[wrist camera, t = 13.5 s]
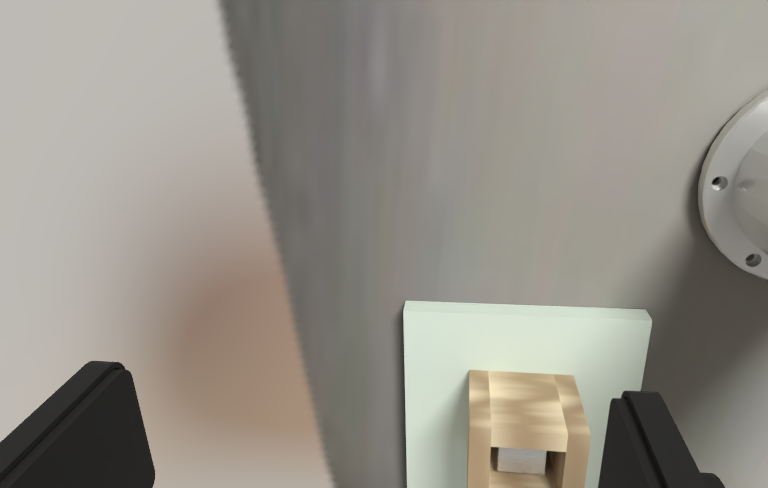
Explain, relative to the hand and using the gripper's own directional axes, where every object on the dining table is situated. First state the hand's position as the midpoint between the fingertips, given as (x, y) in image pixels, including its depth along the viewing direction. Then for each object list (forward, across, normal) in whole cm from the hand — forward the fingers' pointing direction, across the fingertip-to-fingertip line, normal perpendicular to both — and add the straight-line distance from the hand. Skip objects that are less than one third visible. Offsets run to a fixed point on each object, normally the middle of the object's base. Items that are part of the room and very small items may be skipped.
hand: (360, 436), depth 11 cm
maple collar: (+25, -6, +19) cm, 32 cm away
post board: (+26, -6, +19) cm, 33 cm away
